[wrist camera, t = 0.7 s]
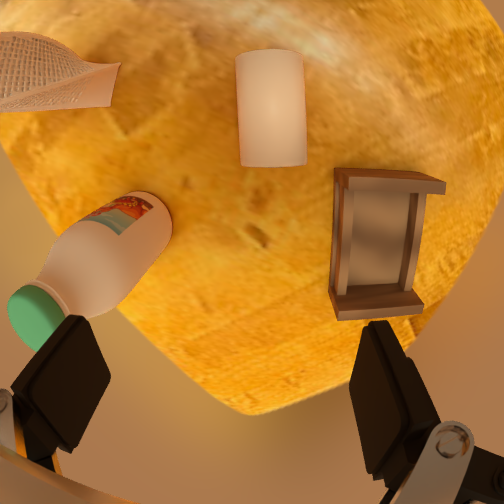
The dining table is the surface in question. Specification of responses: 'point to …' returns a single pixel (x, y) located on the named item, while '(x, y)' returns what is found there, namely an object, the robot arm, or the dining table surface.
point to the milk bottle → (92, 266)
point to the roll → (271, 108)
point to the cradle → (377, 241)
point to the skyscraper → (50, 76)
